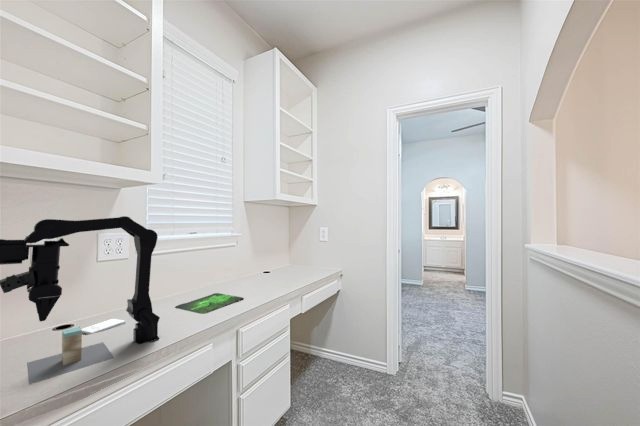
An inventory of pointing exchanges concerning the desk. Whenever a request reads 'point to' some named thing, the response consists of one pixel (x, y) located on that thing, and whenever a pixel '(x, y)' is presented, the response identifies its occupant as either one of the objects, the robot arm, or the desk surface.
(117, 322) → the external hard drive
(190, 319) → the desk surface
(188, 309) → the mouse mat
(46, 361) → the rubber mat
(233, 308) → the desk surface
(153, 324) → the robot arm
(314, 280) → the desk surface
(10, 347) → the desk surface
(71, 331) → the birch block
